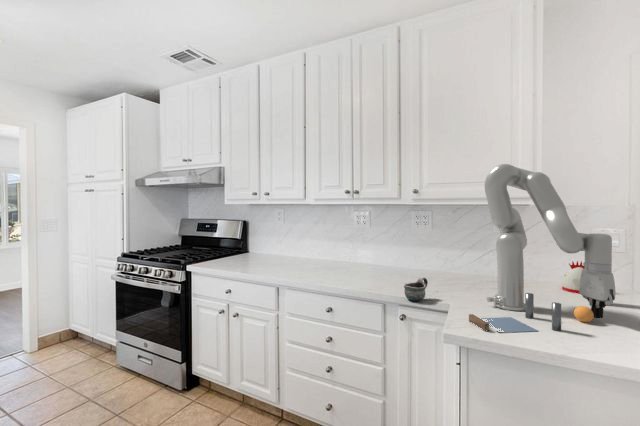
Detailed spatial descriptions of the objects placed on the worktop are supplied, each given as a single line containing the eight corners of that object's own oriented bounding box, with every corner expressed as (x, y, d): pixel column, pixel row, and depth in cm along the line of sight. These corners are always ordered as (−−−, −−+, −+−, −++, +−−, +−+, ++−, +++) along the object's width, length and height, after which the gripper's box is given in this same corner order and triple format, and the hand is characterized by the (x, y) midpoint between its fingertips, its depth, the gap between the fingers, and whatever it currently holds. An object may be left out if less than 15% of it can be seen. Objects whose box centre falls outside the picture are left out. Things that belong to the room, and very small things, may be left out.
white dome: (561, 286, 171) (561, 258, 171) (595, 289, 163) (595, 260, 163) (562, 292, 160) (562, 261, 160) (599, 296, 152) (599, 264, 152)
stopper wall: (484, 331, 110) (484, 323, 110) (468, 321, 120) (468, 314, 120) (488, 331, 110) (488, 323, 110) (472, 320, 120) (472, 314, 120)
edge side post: (556, 331, 109) (556, 304, 109) (549, 328, 111) (549, 302, 111) (563, 331, 109) (563, 304, 109) (557, 328, 112) (557, 302, 112)
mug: (399, 300, 148) (399, 278, 148) (414, 295, 157) (414, 274, 156) (418, 304, 141) (418, 281, 141) (433, 299, 149) (433, 277, 149)
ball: (583, 324, 115) (583, 308, 115) (569, 319, 120) (569, 304, 120) (598, 324, 115) (598, 308, 115) (583, 318, 121) (583, 303, 121)
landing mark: (499, 333, 108) (499, 332, 108) (475, 318, 122) (475, 318, 122) (538, 331, 109) (538, 330, 109) (510, 317, 123) (510, 317, 123)
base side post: (528, 318, 122) (528, 294, 121) (523, 316, 124) (523, 293, 124) (535, 318, 122) (535, 294, 122) (530, 316, 124) (530, 292, 124)
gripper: (570, 264, 125) (569, 311, 126) (608, 271, 110) (608, 325, 111) (588, 263, 126) (587, 310, 126) (628, 271, 111) (627, 324, 112)
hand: (597, 317), depth 119 cm, fingers closed
